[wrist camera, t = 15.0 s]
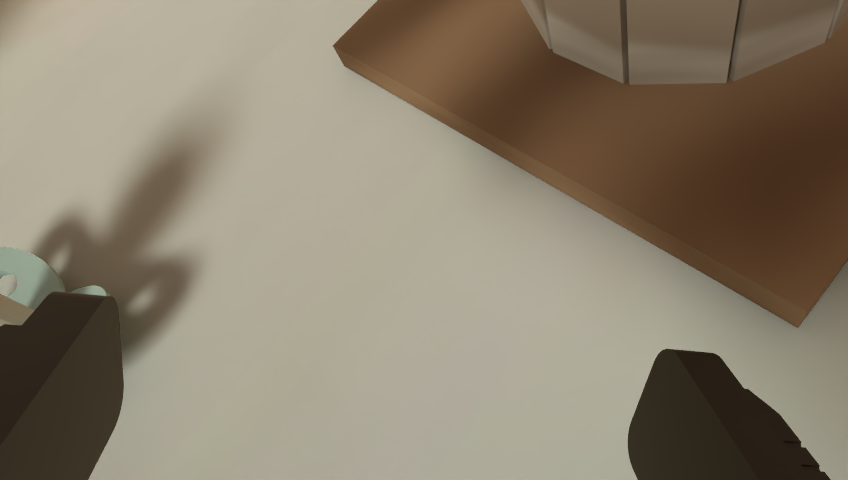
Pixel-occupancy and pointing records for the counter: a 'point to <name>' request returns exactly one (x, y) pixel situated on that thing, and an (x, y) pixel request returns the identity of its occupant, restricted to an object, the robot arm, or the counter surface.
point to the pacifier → (30, 285)
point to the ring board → (650, 118)
